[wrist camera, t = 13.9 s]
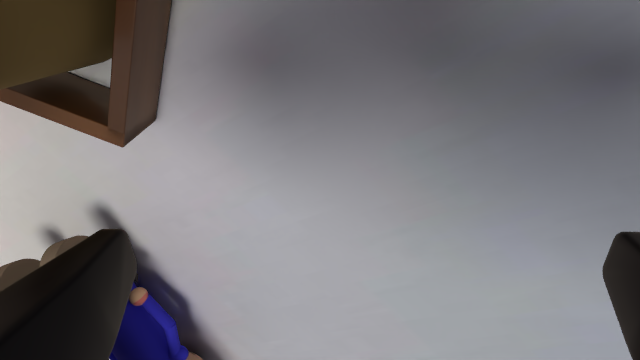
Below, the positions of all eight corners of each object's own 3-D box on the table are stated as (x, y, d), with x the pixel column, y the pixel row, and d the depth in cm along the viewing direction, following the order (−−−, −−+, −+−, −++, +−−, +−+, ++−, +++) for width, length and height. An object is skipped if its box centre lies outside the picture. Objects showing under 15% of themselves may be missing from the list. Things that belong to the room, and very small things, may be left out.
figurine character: (54, 225, 30) (174, 393, 34) (-57, 301, 23) (110, 497, 28) (128, 195, 28) (248, 380, 32) (28, 269, 21) (197, 491, 25)
